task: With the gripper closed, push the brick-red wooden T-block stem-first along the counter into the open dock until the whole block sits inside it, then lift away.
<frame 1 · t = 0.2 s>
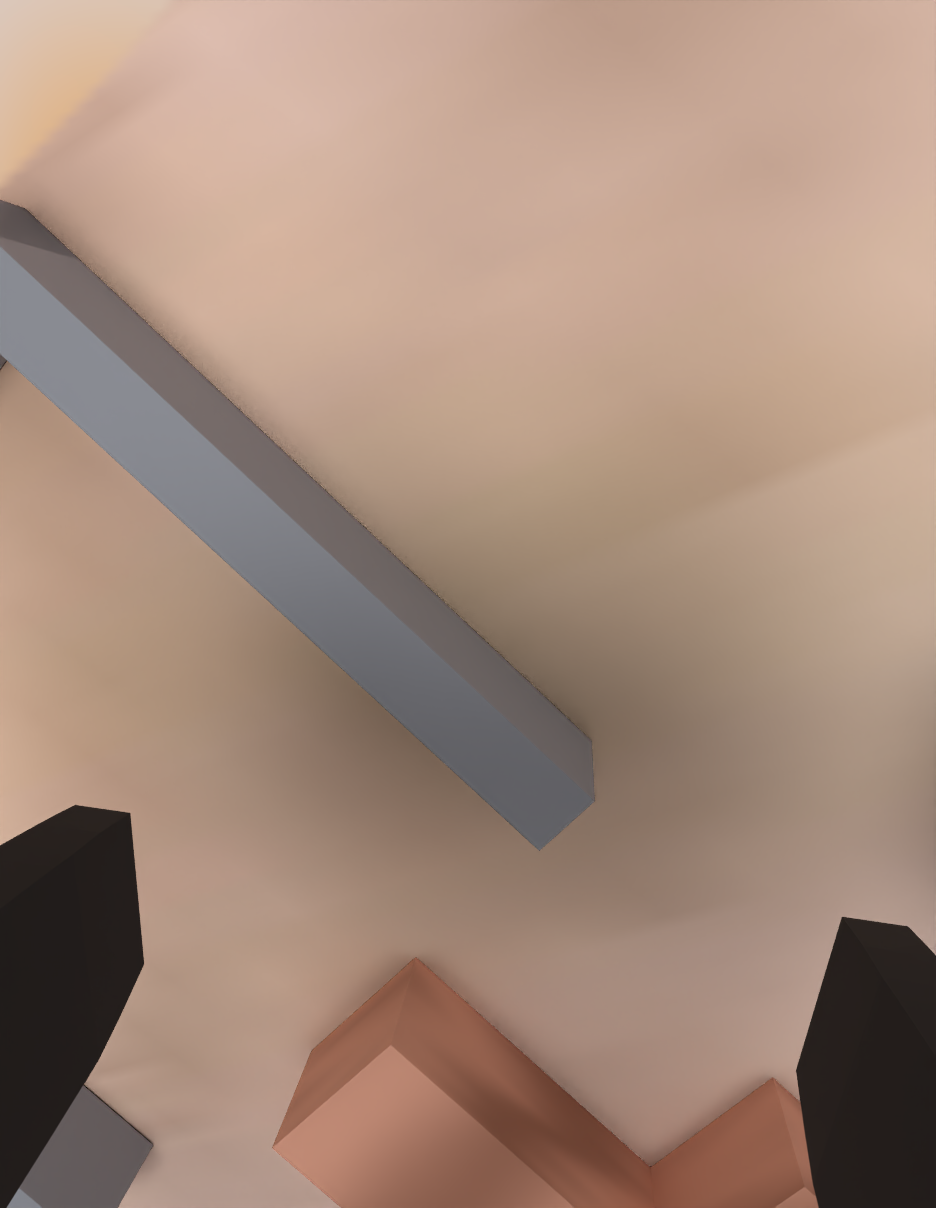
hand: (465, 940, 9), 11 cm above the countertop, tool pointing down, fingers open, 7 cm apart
t block: (536, 1158, 22), on the countertop
dock: (102, 776, 21), on the countertop
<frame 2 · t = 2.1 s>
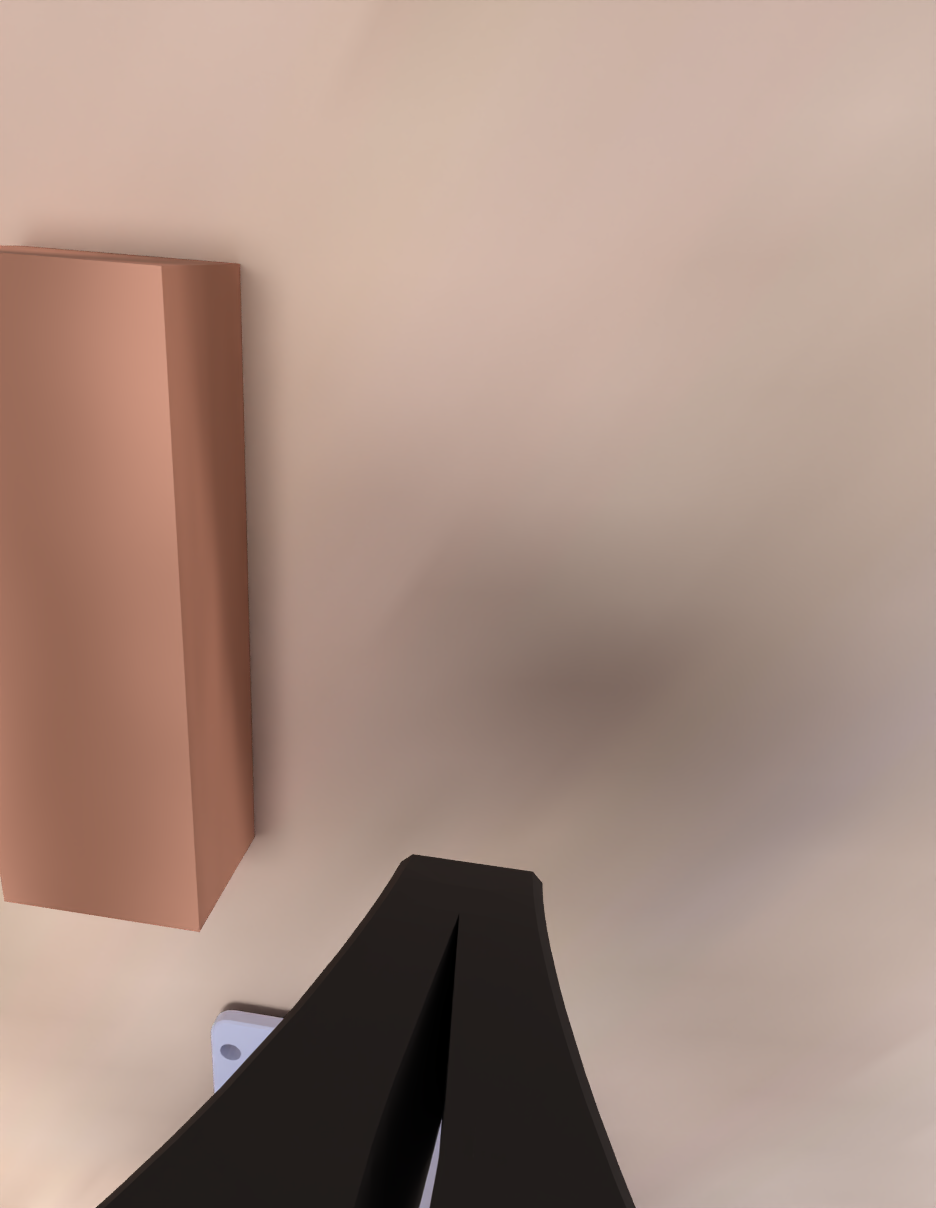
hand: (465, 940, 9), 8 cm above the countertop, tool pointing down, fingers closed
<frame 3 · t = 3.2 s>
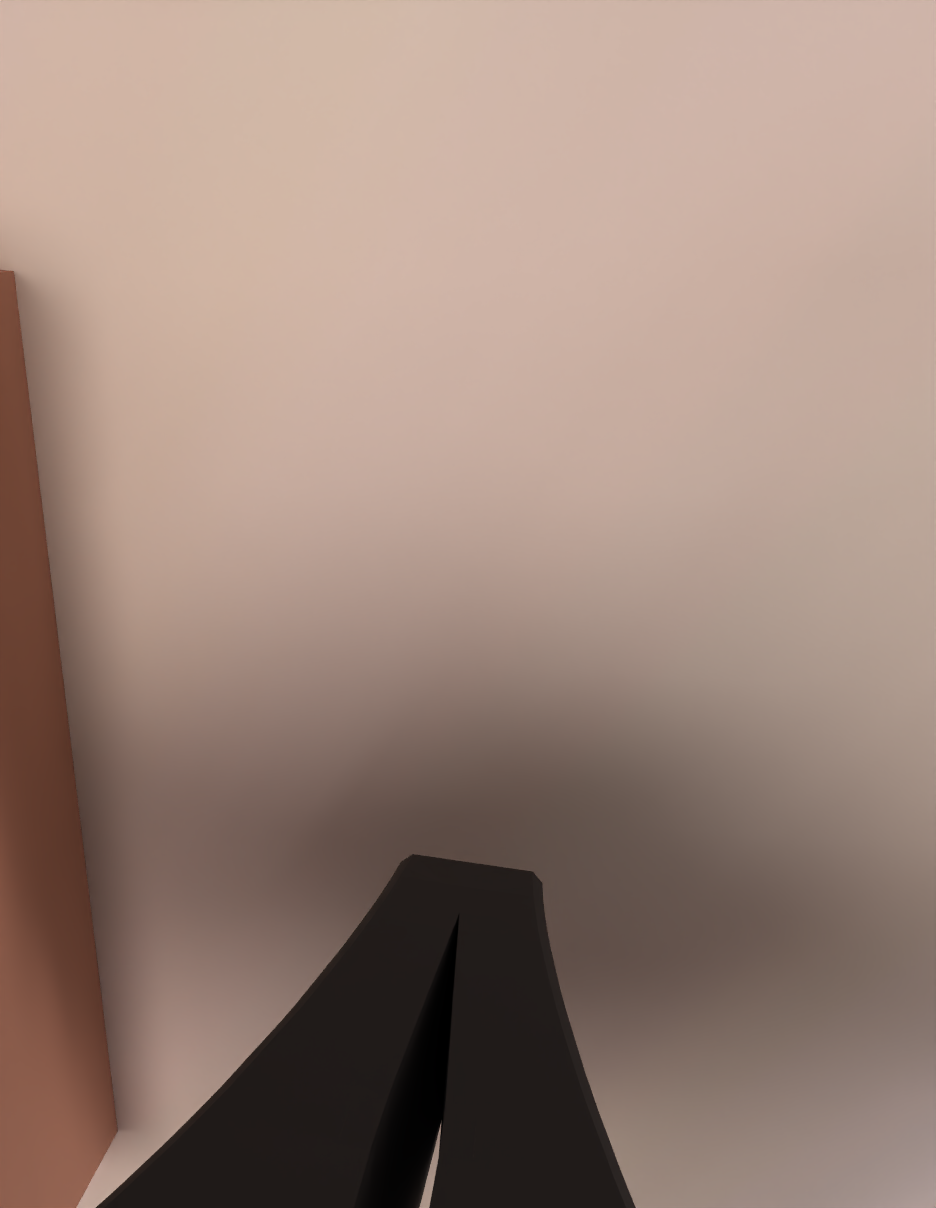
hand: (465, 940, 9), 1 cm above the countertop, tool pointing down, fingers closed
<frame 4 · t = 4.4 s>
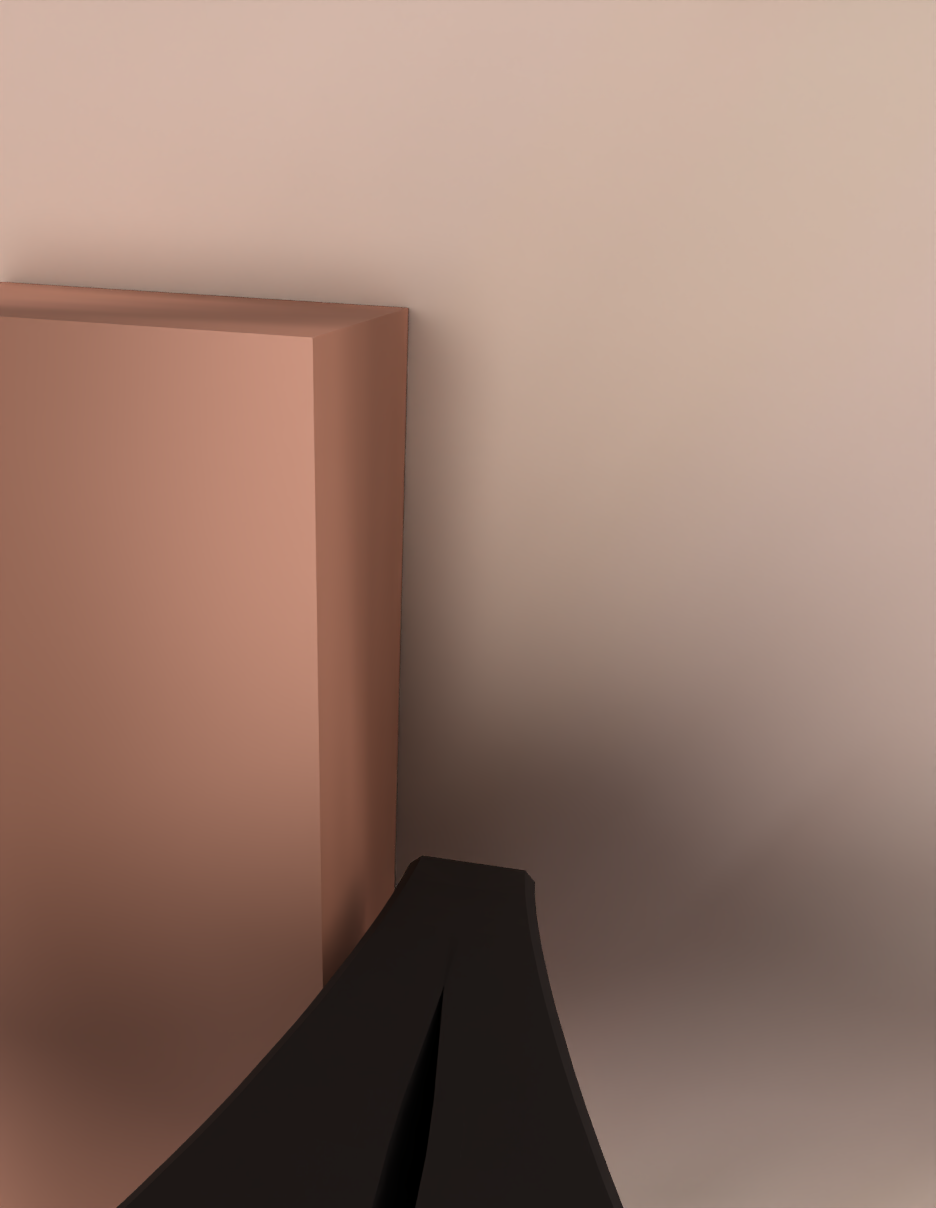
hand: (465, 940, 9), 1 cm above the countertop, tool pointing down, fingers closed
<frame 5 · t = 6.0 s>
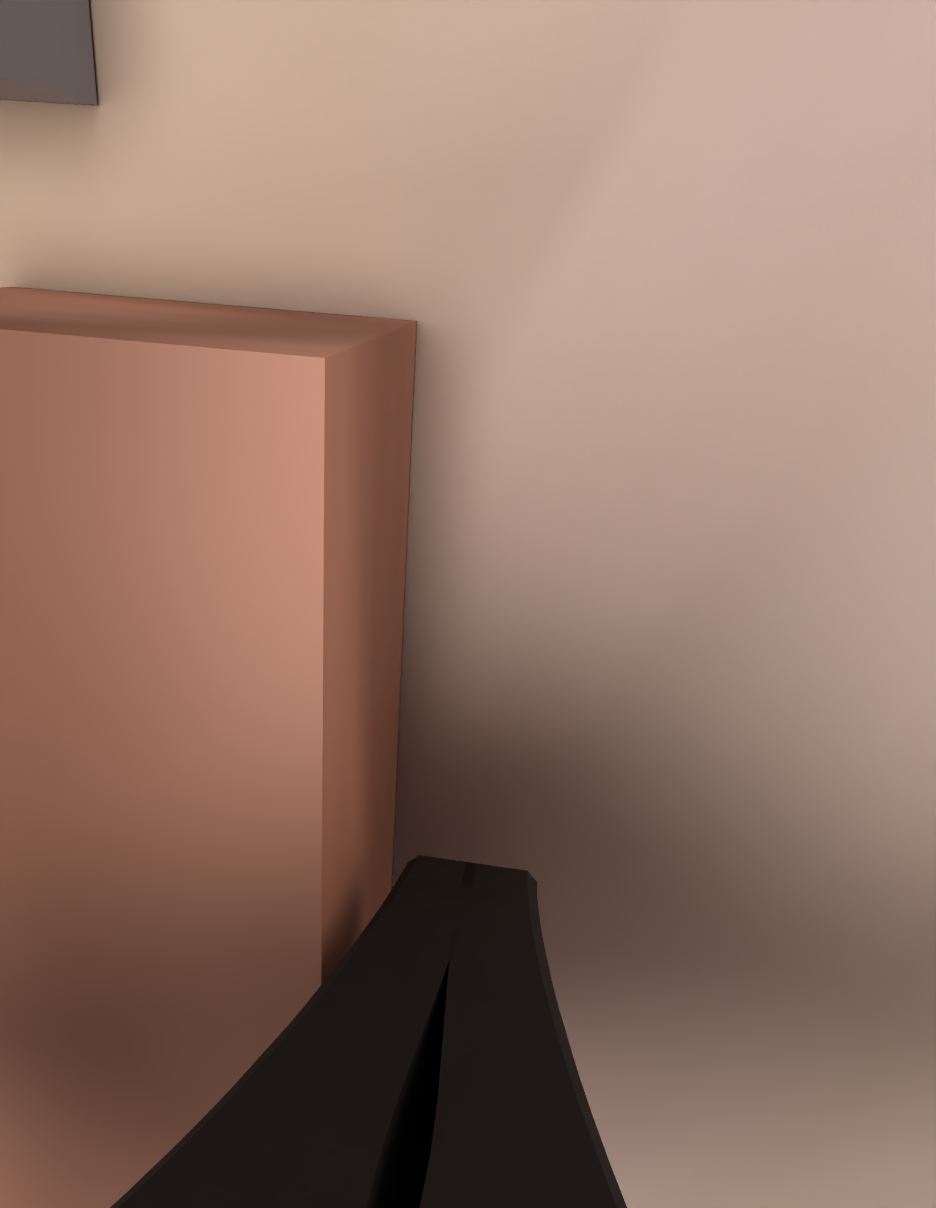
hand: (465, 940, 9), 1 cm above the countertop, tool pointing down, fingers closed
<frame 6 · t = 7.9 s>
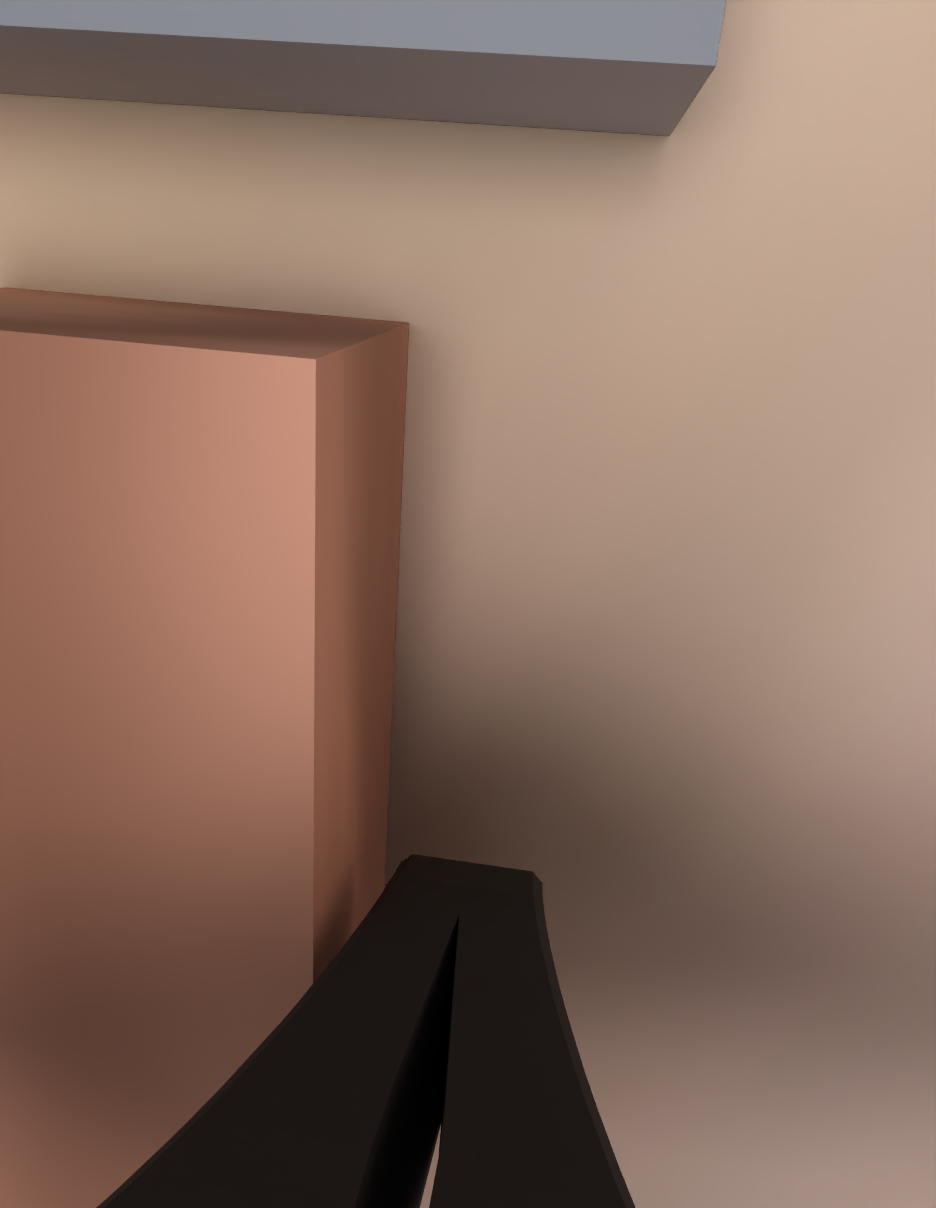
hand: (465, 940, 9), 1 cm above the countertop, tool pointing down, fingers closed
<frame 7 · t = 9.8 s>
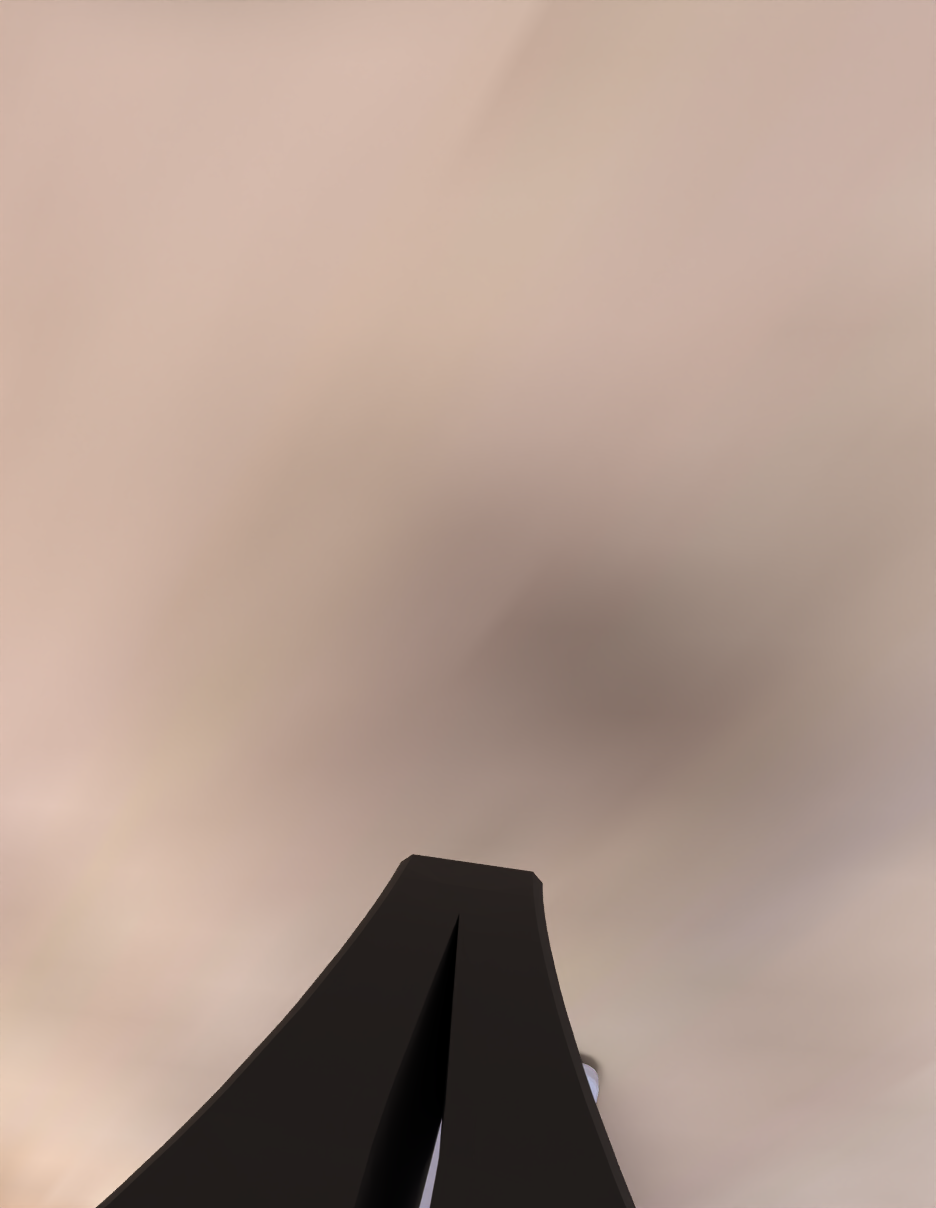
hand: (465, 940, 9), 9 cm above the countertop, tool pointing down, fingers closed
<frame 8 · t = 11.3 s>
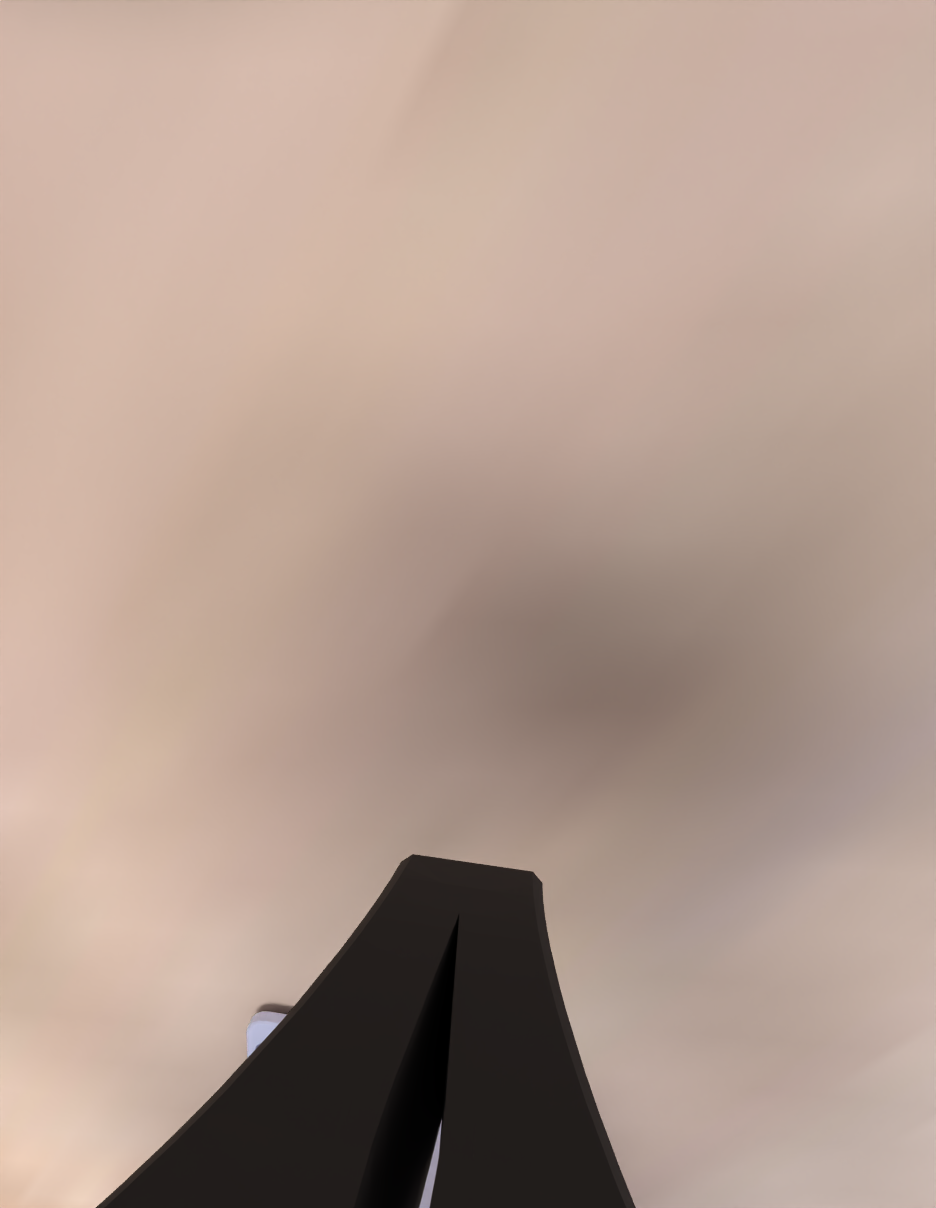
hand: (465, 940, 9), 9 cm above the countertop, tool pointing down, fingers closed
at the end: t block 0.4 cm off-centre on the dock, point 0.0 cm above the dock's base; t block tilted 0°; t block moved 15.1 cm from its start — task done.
